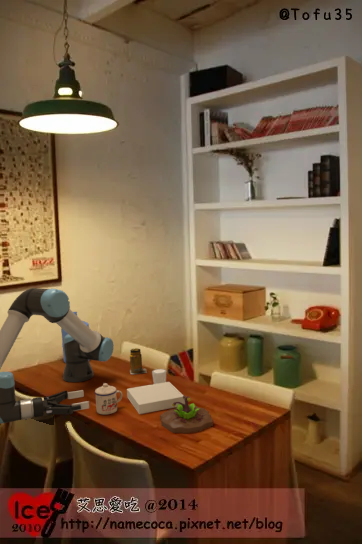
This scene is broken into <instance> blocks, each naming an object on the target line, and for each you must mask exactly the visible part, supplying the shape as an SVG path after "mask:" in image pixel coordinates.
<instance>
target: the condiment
mask: <svg viewBox="0 0 362 544" xmlns="http://www.w3.org/2000/svg"><path fill="white" fill-rule="evenodd" d="M141 353H142V352H141V348H136V347H135V348H131V349H130V355H129V363H130V369H129V373H130V375H139V374H145V373H146V374H147V373H148V372H147V368H143V360H142V359H143V356H142V354H141Z"/></svg>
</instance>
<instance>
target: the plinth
mask: <svg viewBox="0 0 362 544" xmlns="http://www.w3.org/2000/svg"><path fill="white" fill-rule="evenodd" d="M183 396H184V394H182V392H180V390H178V389H177V388H176V387H175V386H174V385H173V384H172V383H171V382H170V381H166V382H164V383H158V384H154V383H153V384H148V385H141V386H135V387H130V388H127V389H126V397H127V399H128V400H129V402H130V403H131V404H132V406H133V407H134V409H135V410H136V412H137V413H138V414H139V415H144V414H148V413H152V412H157V411H163V410H167V409H168V410H170V409H175V408H177V407H178V404H179V403H177V404H176V405H175V406H172V404H173V403H174V402H181V403H182V404H185V400H184V399H183ZM180 405H181V404H180Z"/></svg>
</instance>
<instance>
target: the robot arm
mask: <svg viewBox="0 0 362 544" xmlns="http://www.w3.org/2000/svg"><path fill="white" fill-rule="evenodd" d="M69 300H70V298H69V296H68V294H67V293H66V292H65V291H63V290H61V289H57V288H40V287H39V288H37V287H31V288H28V289H26V290H24V291H23V292H21V293H20V294H19V295H17V297H16V298H15V300H13V302H12V304H11V305H10V306H9V308H8V310H7V317H6V319H5V321H4V322H3V324H2V326H1V328H0V370H1V369H2V367H3V365H4V364H5V361H6V359H7V358H8V355H9V354H10V351H11V350H12V347H13V346H14V344H15V343H16V340H17V338H18V337H19V335H20V333H21V332H22V331H21V330H22V329H23V327H24V325H25V323H28V322H29V321H30V318H31V317H32V316H42V317H43V318H44V319H45V320H47V322H49V323H51V324H57V326H58V327H60V329H61V328H62V329H63V330H64V331H66V332H67V333H68V335H66V336H65V337H64V349H65V360H66V363H65V366H64V369H63V373H62V379H63V381H65V382H68V383H79V382H85V381H89V380H91V379H92V378H93V377H94V370H93V367H92V366H91V363H90V361H98V362H108V360H110V359H111V358H112V355H113V353H114V341H113V339H112V338H110V337H108V336H106V337H105V336H103V335H102V334H101V333H100V332H99V331H97V330H92V329H91V328H90V326H89V327H88V326H87V325H86V324H85V323H84V322H83V321H84V320H82V319H81V318H80V317H79V316H78V314H77V315H76V314H74V313H73V312H74V311H73V310H71V303H70V301H69ZM15 386H16V385H15V378H14V374H13V372H11V371H0V424H6V423H11V422H16V421H22V420H25V421H27V420H28V419H32V418H33V417H34V418H40V417H43V416H44V415H45V412H46V415H47V416H50V415H73V413H74V412H76V411H81V410H87V409H90V401H89V400H88V401H87V400H86V401H82V402H77V403H71V404H62V403H61V402H63V401H65V400H67V399H68V400H72V399H78V398H83V397H84V396H85V393H84V390H83V389H81V390H76V391H75V390H74V391H68V390H63V391H61V392H57V393H55V394H52V395H48V396H44V397H43V398H42V397H41V396H40V397H39V396H38V397H33V398H32V399H31V398H25V399H20V400H16V388H15Z"/></svg>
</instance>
